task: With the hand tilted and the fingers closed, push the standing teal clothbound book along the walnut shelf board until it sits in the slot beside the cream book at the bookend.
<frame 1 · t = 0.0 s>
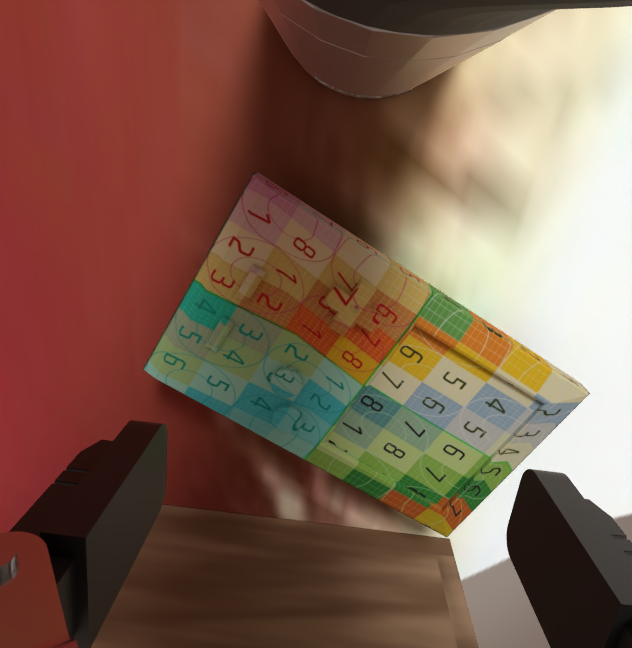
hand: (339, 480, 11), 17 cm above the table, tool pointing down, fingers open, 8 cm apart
shelf: (253, 585, 36), on the table
puzzle game: (360, 349, 29), on the table
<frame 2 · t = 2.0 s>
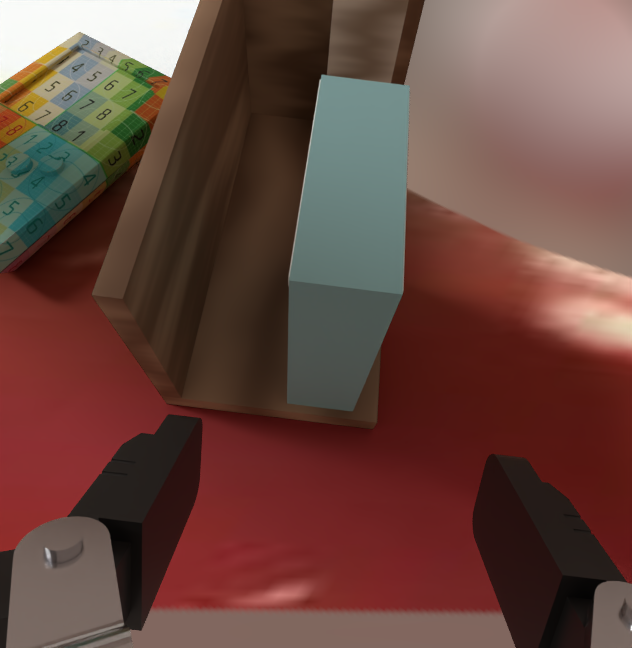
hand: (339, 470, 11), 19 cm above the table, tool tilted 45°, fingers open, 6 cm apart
book: (328, 326, 32), point 1 cm above the table, touching shelf
shelf: (296, 247, 37), on the table
puzzle game: (62, 170, 39), on the table
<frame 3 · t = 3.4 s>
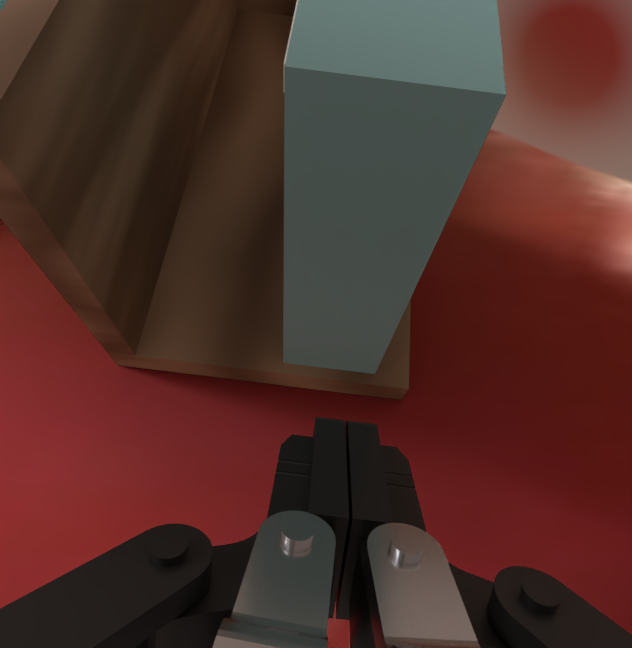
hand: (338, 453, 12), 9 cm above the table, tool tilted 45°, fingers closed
book: (339, 262, 24), point 1 cm above the table, touching shelf
shelf: (295, 170, 28), on the table
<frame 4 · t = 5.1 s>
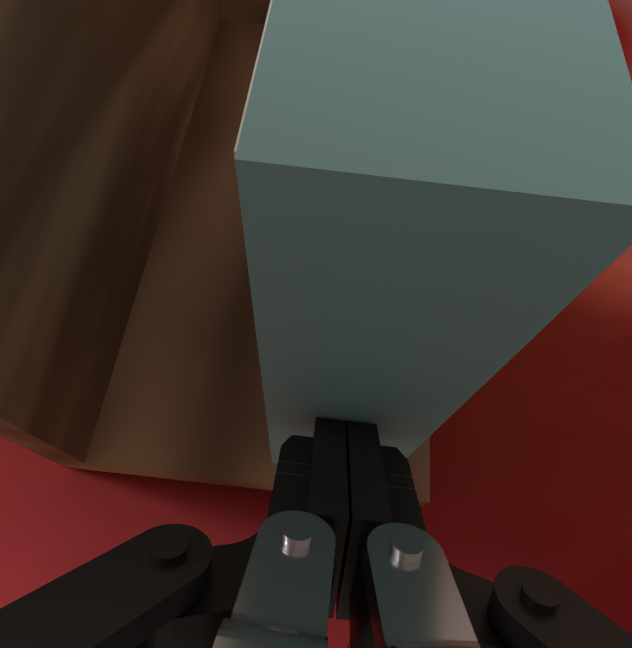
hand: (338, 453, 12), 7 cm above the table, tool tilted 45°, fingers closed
book: (342, 328, 19), point 2 cm above the table, touching gripper, shelf
shelf: (287, 210, 24), on the table
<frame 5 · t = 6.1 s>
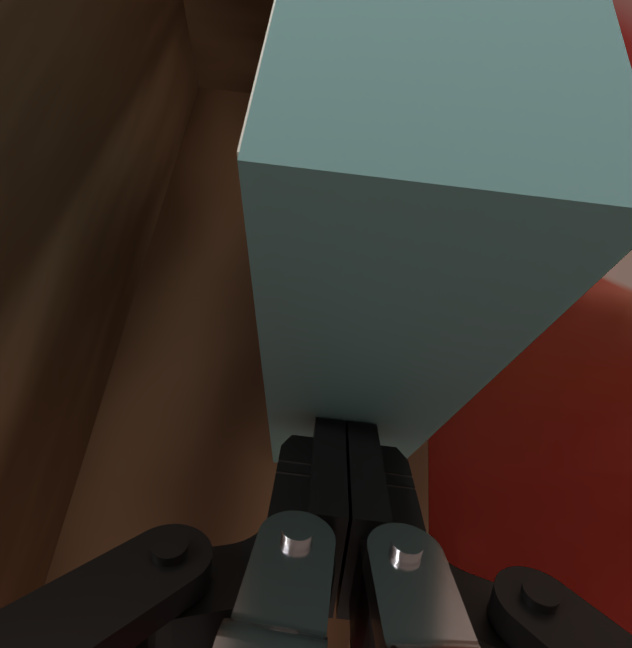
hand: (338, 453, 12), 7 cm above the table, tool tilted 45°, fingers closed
book: (343, 327, 19), point 2 cm above the table, touching gripper
shelf: (269, 314, 21), on the table
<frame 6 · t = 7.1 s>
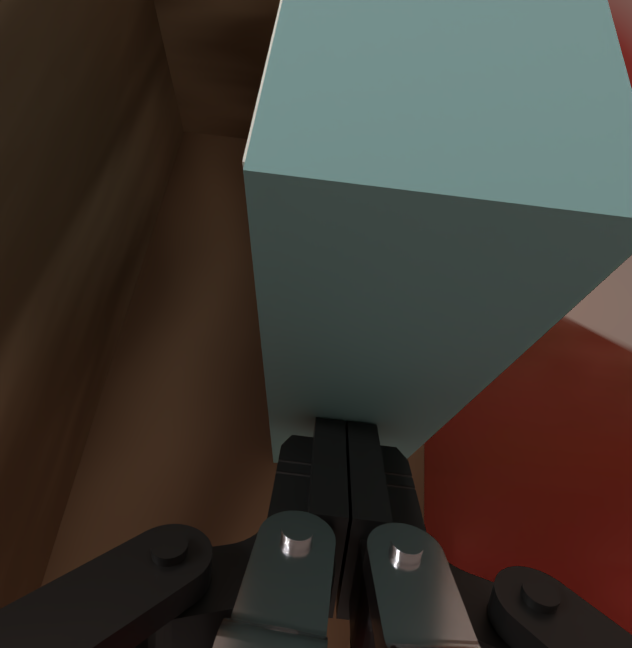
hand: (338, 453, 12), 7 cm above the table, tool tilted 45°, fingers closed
book: (343, 328, 20), point 1 cm above the table, touching gripper, shelf
shelf: (255, 383, 20), on the table
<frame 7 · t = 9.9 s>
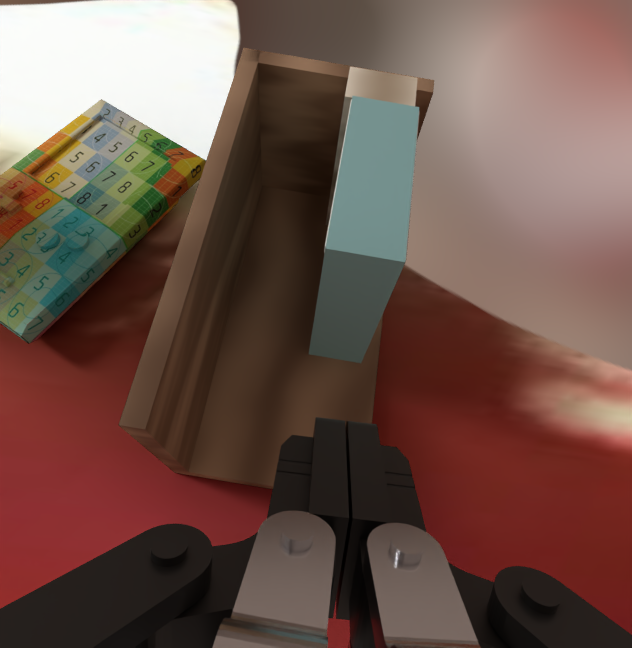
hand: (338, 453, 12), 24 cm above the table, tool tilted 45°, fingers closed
book: (344, 295, 39), point 1 cm above the table, touching shelf
shelf: (298, 321, 40), on the table
puzzle game: (83, 232, 42), on the table
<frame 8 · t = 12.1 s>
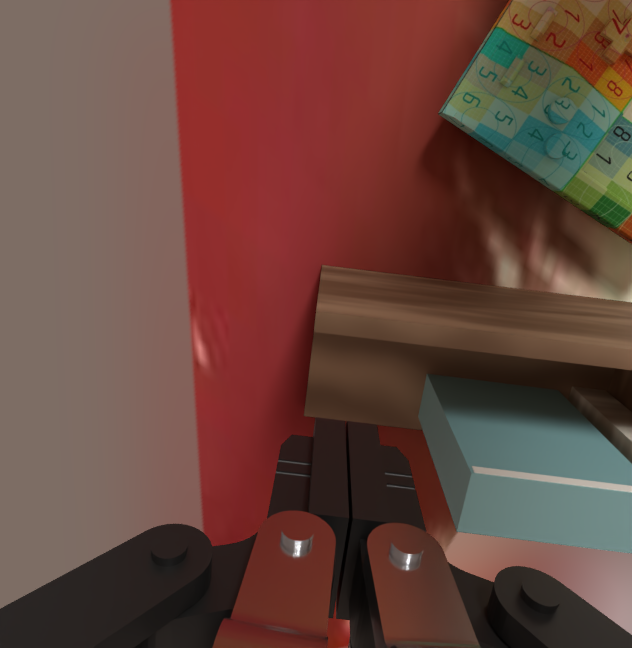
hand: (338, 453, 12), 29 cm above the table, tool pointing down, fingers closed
book: (487, 403, 42), point 1 cm above the table, touching shelf
shelf: (464, 358, 42), on the table
puzzle game: (587, 119, 36), on the table
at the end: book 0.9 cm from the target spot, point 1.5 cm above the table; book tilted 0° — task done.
